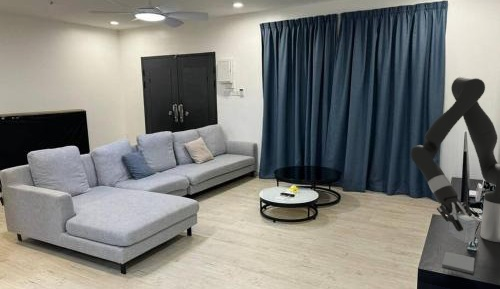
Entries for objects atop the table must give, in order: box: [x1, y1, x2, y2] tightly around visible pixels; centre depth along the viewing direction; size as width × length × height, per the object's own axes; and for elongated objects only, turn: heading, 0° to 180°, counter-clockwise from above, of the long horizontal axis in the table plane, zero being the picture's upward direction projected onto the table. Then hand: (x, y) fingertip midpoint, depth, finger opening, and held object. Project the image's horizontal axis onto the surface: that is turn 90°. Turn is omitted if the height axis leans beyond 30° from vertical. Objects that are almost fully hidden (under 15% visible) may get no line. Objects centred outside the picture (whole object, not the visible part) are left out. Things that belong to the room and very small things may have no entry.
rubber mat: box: [441, 251, 476, 275], centre depth 138 cm, size 12×10×1 cm
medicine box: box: [447, 213, 477, 243], centre depth 136 cm, size 8×4×9 cm, turn 16°
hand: (466, 229), depth 134 cm, fingers closed on medicine box, 4 cm apart
